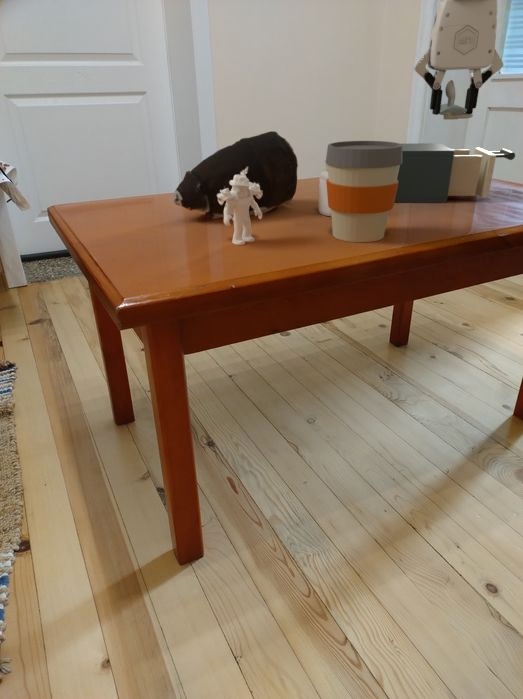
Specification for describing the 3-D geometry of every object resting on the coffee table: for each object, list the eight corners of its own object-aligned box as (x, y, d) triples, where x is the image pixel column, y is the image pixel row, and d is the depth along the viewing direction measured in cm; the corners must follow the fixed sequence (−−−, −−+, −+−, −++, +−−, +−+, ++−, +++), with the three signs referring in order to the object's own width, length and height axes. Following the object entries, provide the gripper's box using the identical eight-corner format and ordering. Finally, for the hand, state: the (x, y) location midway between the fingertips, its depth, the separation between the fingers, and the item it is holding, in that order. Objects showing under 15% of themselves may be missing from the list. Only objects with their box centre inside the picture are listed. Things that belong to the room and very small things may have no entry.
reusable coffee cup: (308, 232, 92) (311, 144, 85) (363, 222, 98) (369, 139, 91) (352, 249, 83) (358, 151, 76) (409, 238, 88) (421, 145, 81)
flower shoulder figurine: (253, 234, 92) (251, 164, 86) (269, 238, 89) (268, 166, 84) (215, 245, 86) (211, 171, 81) (230, 249, 84) (227, 173, 78)
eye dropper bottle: (318, 217, 102) (320, 153, 97) (318, 210, 107) (320, 150, 102) (339, 217, 102) (343, 153, 96) (339, 210, 107) (342, 150, 101)
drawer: (494, 187, 121) (502, 147, 117) (512, 198, 110) (521, 154, 106) (411, 187, 123) (415, 147, 119) (419, 197, 112) (425, 154, 108)
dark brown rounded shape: (150, 156, 99) (256, 122, 108) (167, 227, 109) (263, 191, 118) (184, 176, 89) (298, 137, 98) (200, 252, 99) (302, 211, 108)
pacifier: (467, 117, 94) (434, 117, 95) (474, 79, 91) (439, 79, 92) (475, 121, 88) (440, 120, 89) (483, 80, 85) (446, 80, 86)
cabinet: (434, 190, 124) (441, 143, 119) (446, 202, 112) (454, 150, 107) (368, 190, 125) (372, 143, 120) (373, 202, 113) (378, 151, 108)
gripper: (418, -10, 80) (406, 116, 89) (531, -16, 79) (508, 113, 87) (411, -4, 87) (400, 113, 95) (514, -9, 85) (494, 111, 94)
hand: (452, 112), depth 91 cm, fingers closed on pacifier, 5 cm apart
